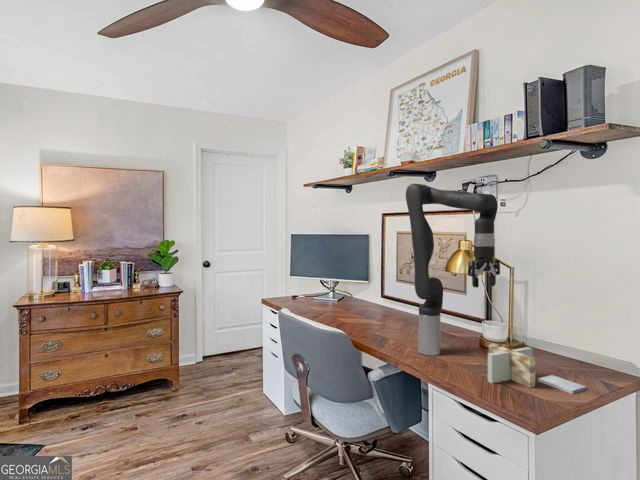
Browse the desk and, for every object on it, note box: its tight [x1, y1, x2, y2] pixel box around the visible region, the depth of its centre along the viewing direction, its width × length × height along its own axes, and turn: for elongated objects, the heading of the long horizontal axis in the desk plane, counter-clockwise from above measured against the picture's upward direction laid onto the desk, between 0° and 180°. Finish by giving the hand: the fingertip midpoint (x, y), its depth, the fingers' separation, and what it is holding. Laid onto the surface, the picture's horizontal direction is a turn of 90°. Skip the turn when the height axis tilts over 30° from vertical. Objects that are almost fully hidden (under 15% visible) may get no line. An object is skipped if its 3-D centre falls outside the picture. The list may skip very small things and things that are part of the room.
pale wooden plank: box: [488, 343, 536, 389], centre depth 143 cm, size 18×2×10 cm, turn 23°
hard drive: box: [537, 374, 589, 395], centre depth 136 cm, size 2×8×12 cm
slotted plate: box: [487, 346, 534, 384], centre depth 143 cm, size 20×2×10 cm, turn 113°
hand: (484, 286), depth 153 cm, fingers open, 8 cm apart
